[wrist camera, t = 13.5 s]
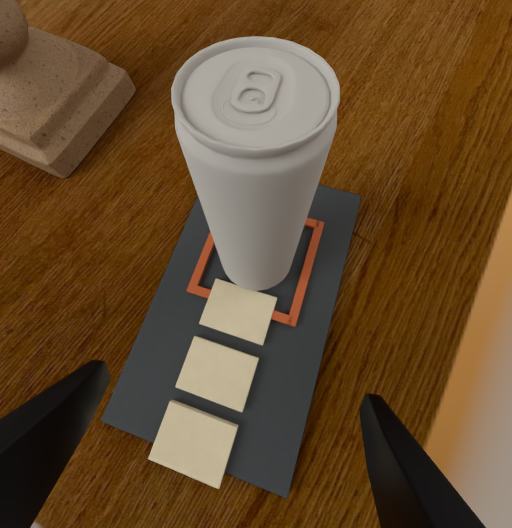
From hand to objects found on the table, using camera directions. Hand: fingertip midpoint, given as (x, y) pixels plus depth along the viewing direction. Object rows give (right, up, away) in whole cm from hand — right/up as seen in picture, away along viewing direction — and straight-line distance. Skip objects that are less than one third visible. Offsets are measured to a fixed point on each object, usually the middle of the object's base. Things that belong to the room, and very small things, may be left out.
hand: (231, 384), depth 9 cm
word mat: (0, +2, +9) cm, 10 cm away
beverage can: (+1, +4, +9) cm, 10 cm away
